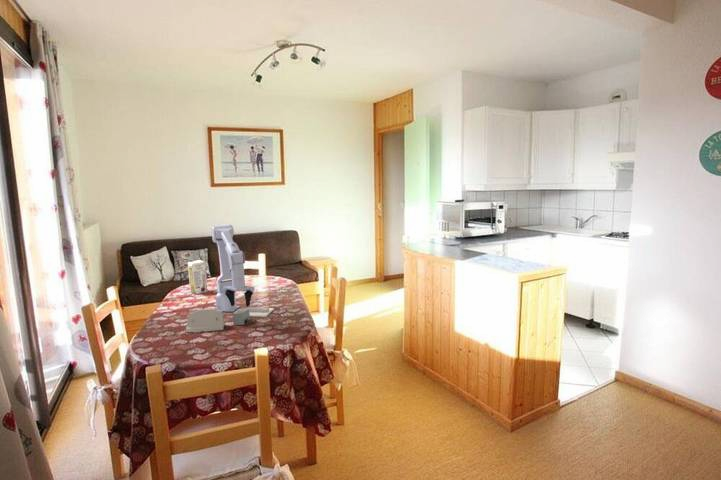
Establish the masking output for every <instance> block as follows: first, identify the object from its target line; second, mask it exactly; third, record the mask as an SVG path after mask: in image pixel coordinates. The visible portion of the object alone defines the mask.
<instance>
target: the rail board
mask: <svg viewBox="0 0 721 480" xmlns="http://www.w3.org/2000/svg"><path fill="white" fill-rule="evenodd" d="M244 309H249V315H250V318H251V317H253V318H254V317H255V318H266V317H268V316H269V315H270V314H271V313H272V312H273V311H275V307H252V306H251V307H250V306H248V307H245V308H244Z"/></svg>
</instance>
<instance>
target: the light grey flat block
mask: <svg viewBox="0 0 721 480" xmlns="http://www.w3.org/2000/svg"><path fill="white" fill-rule="evenodd" d="M224 327H226V321H225V316H224V311H220V310H217V308H216V309H214V308H204V309H203V308H202V309H199V310H194V311H191V312H189V313H188V315H187V321H186V329H185V333H186V332H193V333H202V332H201V331H204V332H213V331H223V330H224Z"/></svg>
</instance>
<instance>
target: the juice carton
mask: <svg viewBox="0 0 721 480" xmlns="http://www.w3.org/2000/svg"><path fill="white" fill-rule="evenodd" d="M187 269H188V279H189V280H188V281H189V290H190V294H193V295H200V294H202V293H203V294H204V293H207V292H208V283H207V281H208V279H207V273H206V263H205V260H199V259H197V260H194V261H188V262H187Z"/></svg>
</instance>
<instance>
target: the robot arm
mask: <svg viewBox="0 0 721 480" xmlns="http://www.w3.org/2000/svg"><path fill="white" fill-rule="evenodd" d="M234 232H235V230H234V227H233V225H232V224H226V225H225V224H224V225H217V226H214V225H213V226H212V227H211V237H212V239H211V240H212V242H213V243H215V244H216V246H217V250H218V258H219V259H218V260H219V267H220V272H221V273H220V275H219V276H218V277H217V279H216V290H217V294H216V296H215V304H216V310H220V311H222V312H230V313H231V312H232V313H234V312H235V311H236V310H238V309H239V308H241V307H240V305H237V298H236V297H237V296H236V293H237V292H244V293H243V295H244V298H245V306H246V307H245V308H248V307H250V305H251V300H252V296H253V295H254V294H253V293H254V292H255V290H256V289H255V286H251V285H246V282H245V281H246V280H245V267H244V264H245V263H246V256H245V253H244V251H242V250H240V248H239V245H238V244H237V243H236V242H235V241H234V240H233V236H234Z"/></svg>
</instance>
